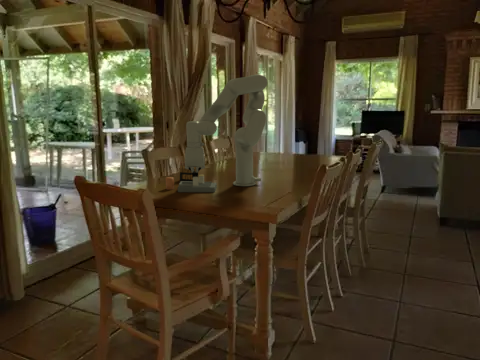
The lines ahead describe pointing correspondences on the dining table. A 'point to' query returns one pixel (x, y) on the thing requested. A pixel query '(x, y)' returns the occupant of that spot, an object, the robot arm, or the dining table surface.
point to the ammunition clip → (185, 173)
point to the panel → (196, 187)
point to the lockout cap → (169, 183)
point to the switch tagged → (201, 178)
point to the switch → (195, 181)
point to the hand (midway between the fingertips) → (195, 179)
